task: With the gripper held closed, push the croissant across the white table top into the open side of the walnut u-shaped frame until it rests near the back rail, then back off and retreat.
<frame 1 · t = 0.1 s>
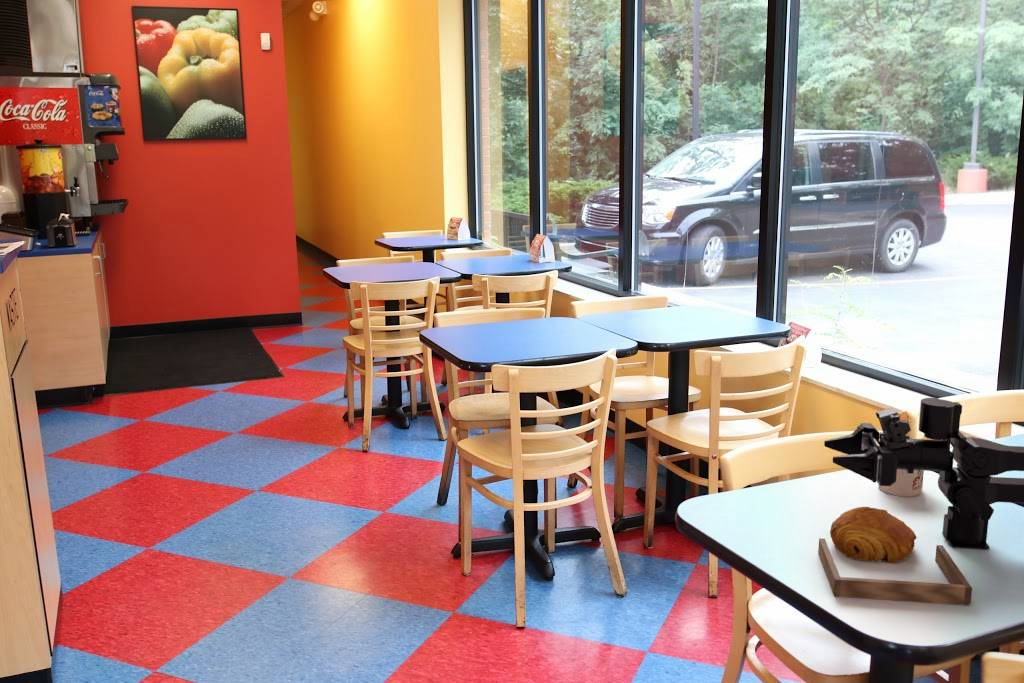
hand: (828, 451, 167), 17 cm above the table, tool horizontal, fingers open, 9 cm apart
croissant: (872, 549, 165), on the table
walnut u-shaped frame: (889, 577, 153), on the table
teacup with lid: (900, 488, 193), on the table
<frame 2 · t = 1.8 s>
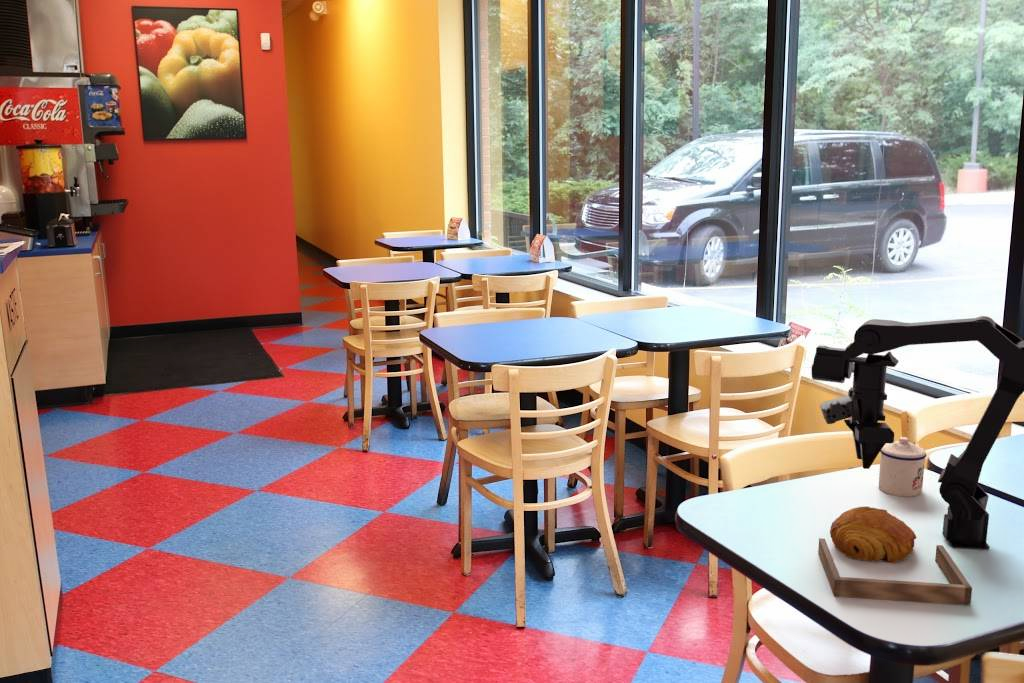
hand: (863, 463, 174), 12 cm above the table, tool pointing down, fingers open, 5 cm apart
nothing on the table moved.
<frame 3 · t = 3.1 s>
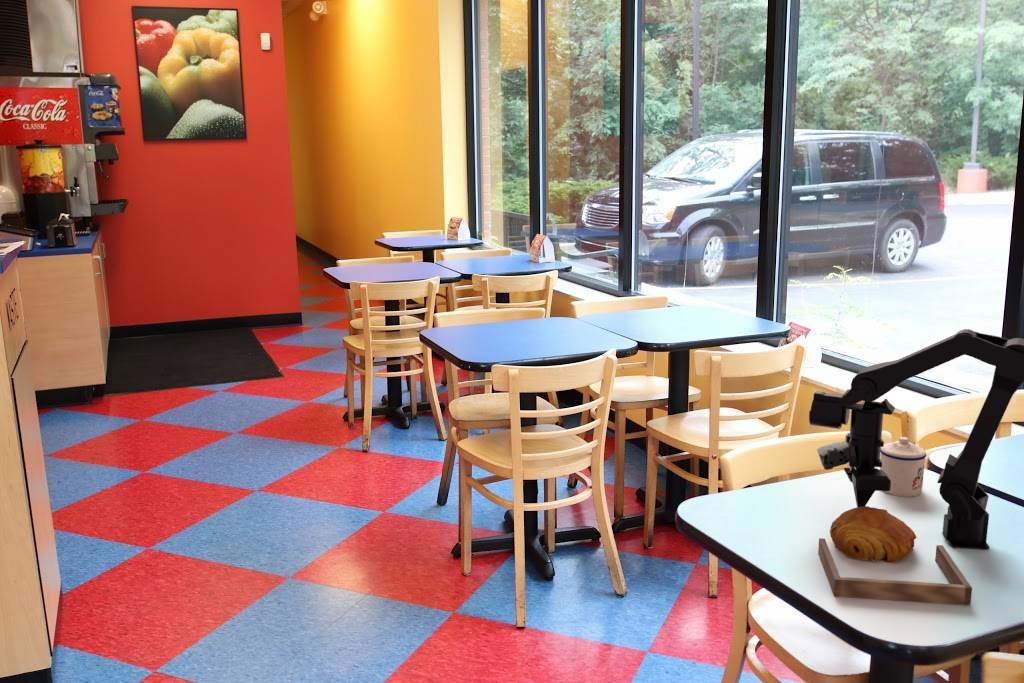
hand: (860, 508, 176), 3 cm above the table, tool pointing down, fingers closed
nothing on the table moved.
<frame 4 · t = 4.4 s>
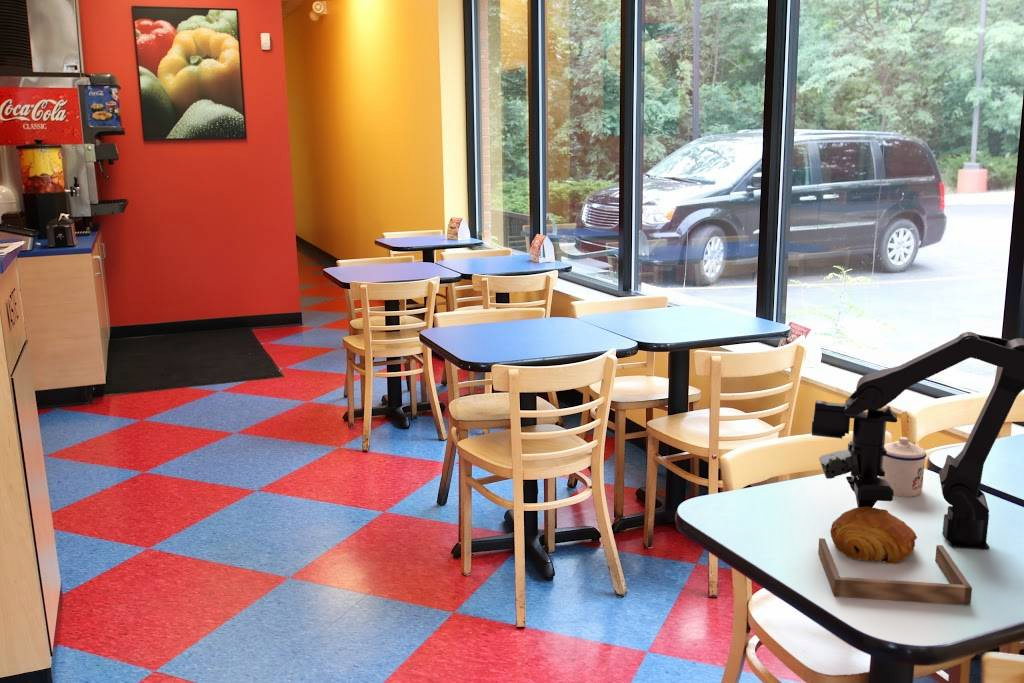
hand: (862, 517, 173), 2 cm above the table, tool pointing down, fingers closed
croissant: (872, 549, 165), on the table, touching gripper
everything else where it was.
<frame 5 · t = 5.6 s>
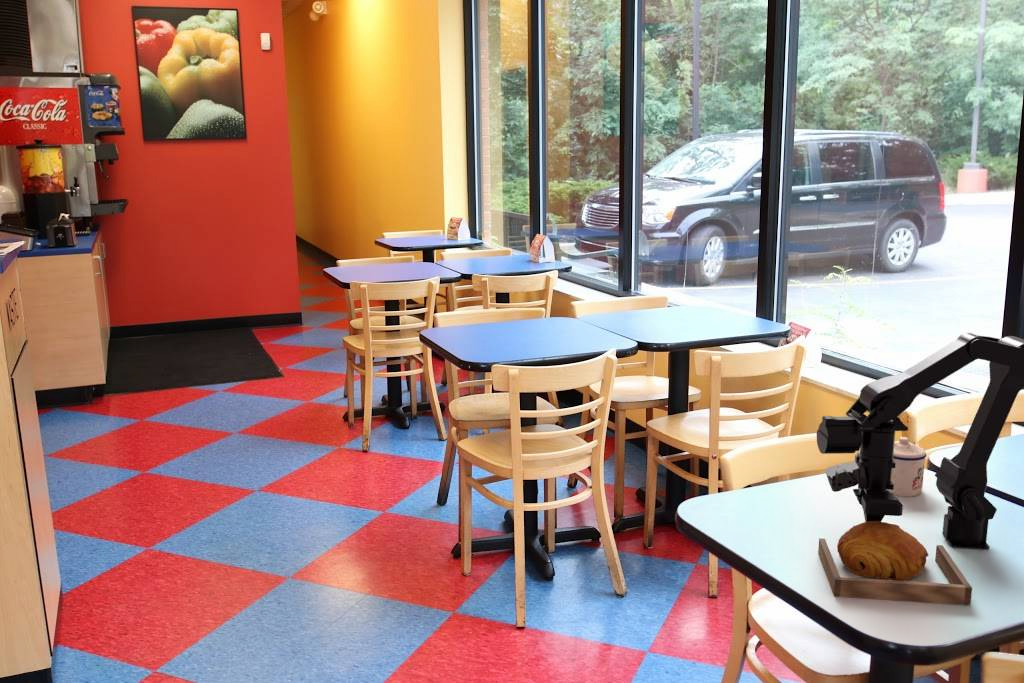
hand: (870, 531, 166), 2 cm above the table, tool pointing down, fingers closed
croissant: (881, 566, 158), on the table, touching gripper
everything else where it was.
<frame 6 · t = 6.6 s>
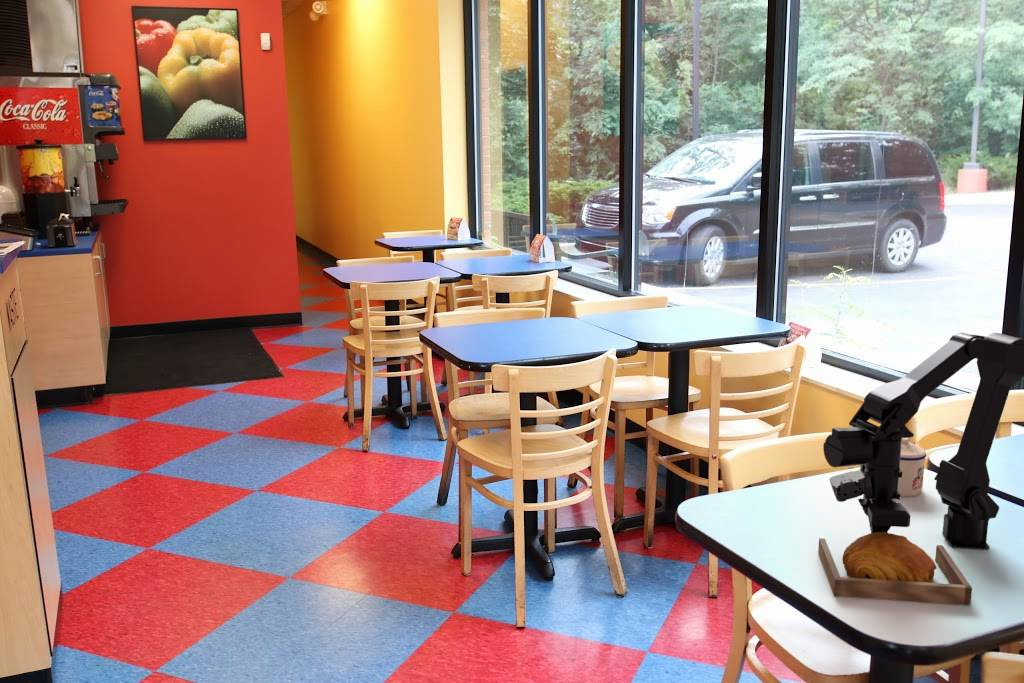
hand: (876, 542, 162), 2 cm above the table, tool pointing down, fingers closed
croissant: (888, 578, 154), on the table, touching gripper
everything else where it was.
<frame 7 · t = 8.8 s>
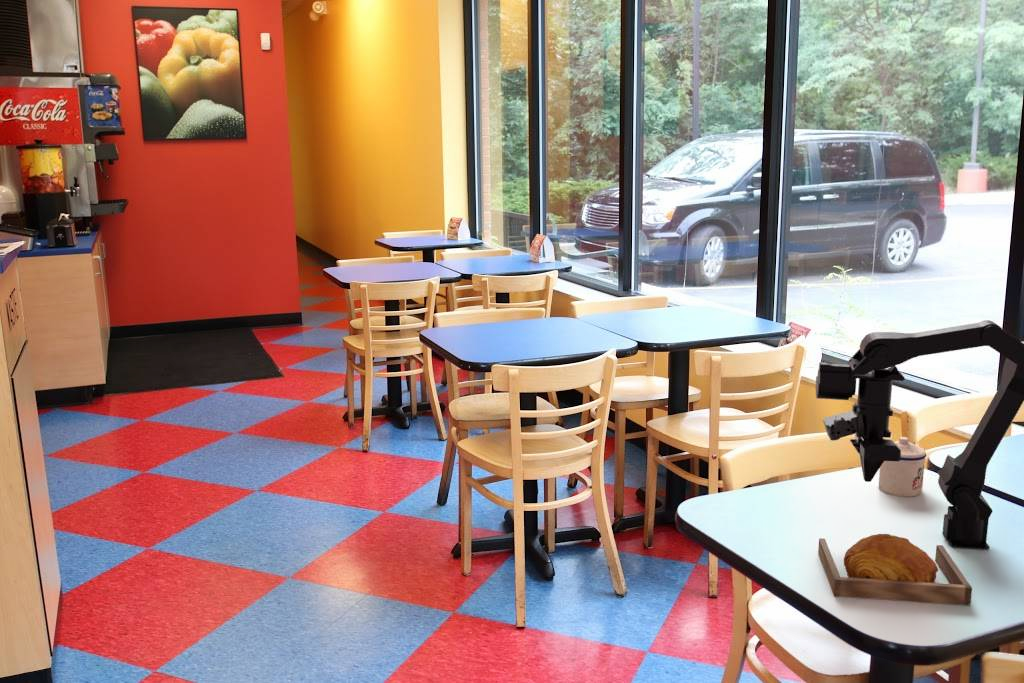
hand: (867, 481, 169), 11 cm above the table, tool pointing down, fingers closed
croissant: (889, 580, 153), on the table
everything else where it was.
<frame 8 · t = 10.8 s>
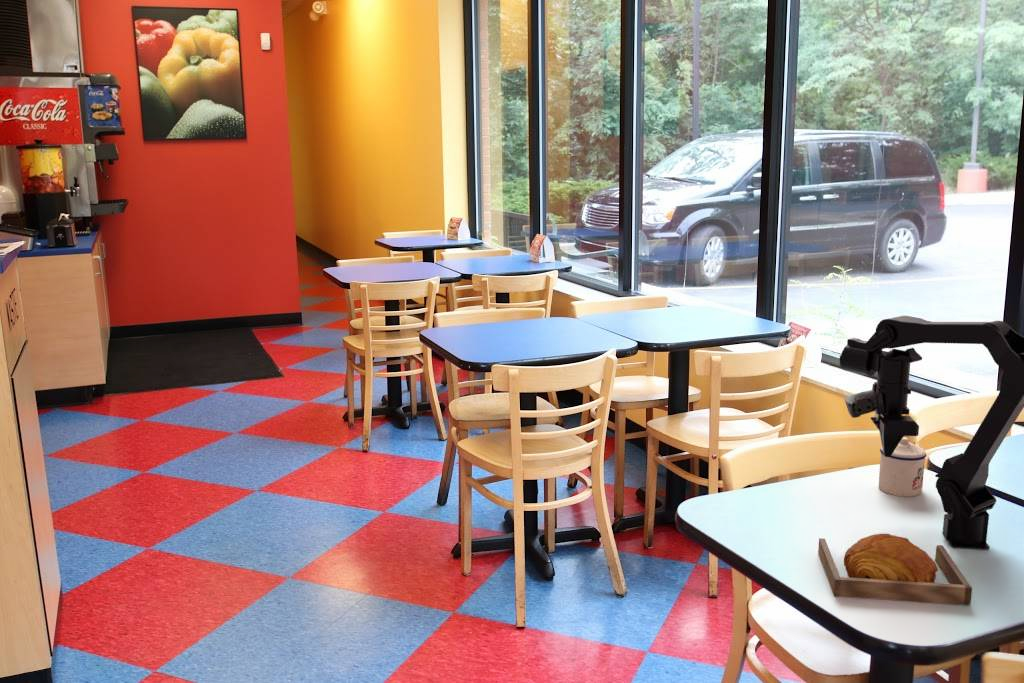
hand: (887, 456, 177), 12 cm above the table, tool pointing down, fingers closed
nothing on the table moved.
at the end: croissant inside the target area (1.0 cm from its centre), on the table; croissant moved 12.1 cm from its start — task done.
